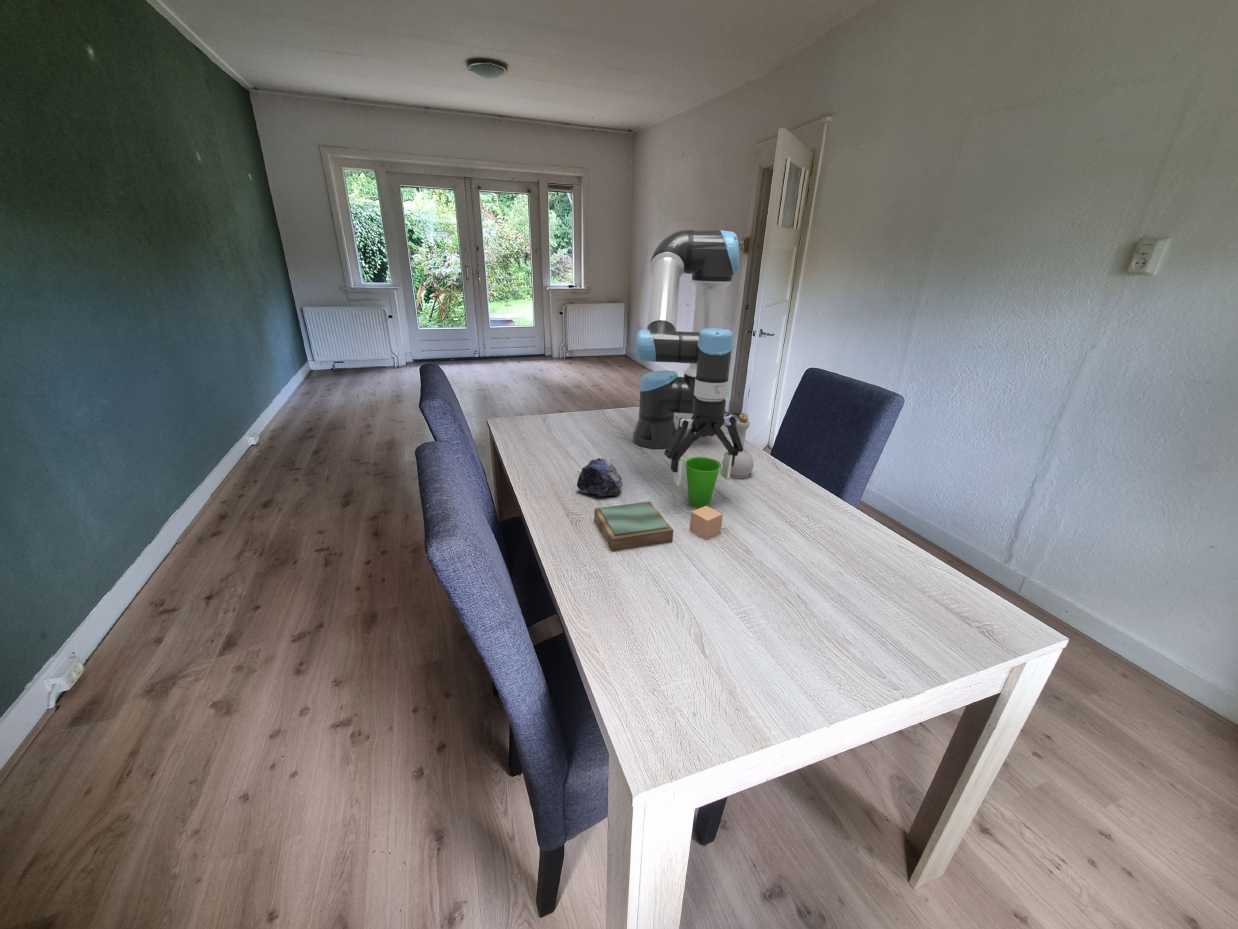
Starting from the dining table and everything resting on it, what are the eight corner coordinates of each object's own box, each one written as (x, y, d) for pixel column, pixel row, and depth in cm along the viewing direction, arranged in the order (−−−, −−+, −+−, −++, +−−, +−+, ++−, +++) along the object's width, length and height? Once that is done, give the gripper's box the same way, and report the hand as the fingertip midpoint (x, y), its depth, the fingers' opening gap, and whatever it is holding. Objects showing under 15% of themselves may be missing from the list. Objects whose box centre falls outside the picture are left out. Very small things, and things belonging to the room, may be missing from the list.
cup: (716, 513, 121) (721, 473, 117) (679, 509, 123) (683, 469, 118) (717, 497, 129) (721, 458, 125) (682, 493, 131) (686, 455, 126)
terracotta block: (689, 530, 114) (691, 511, 112) (704, 524, 116) (706, 505, 114) (705, 540, 110) (707, 520, 108) (720, 533, 113) (722, 514, 111)
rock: (569, 486, 127) (586, 451, 126) (587, 489, 136) (603, 457, 136) (602, 505, 123) (620, 469, 122) (619, 507, 132) (635, 474, 131)
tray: (594, 519, 117) (594, 507, 115) (649, 512, 121) (650, 499, 120) (611, 551, 105) (612, 537, 103) (672, 541, 109) (673, 528, 107)
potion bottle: (749, 468, 147) (757, 410, 140) (753, 481, 139) (762, 420, 132) (719, 466, 148) (726, 409, 141) (722, 479, 140) (729, 418, 133)
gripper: (667, 404, 108) (661, 492, 116) (765, 398, 115) (753, 481, 123) (654, 396, 114) (649, 479, 123) (747, 391, 122) (737, 470, 130)
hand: (701, 480), depth 123 cm, fingers open, 13 cm apart
